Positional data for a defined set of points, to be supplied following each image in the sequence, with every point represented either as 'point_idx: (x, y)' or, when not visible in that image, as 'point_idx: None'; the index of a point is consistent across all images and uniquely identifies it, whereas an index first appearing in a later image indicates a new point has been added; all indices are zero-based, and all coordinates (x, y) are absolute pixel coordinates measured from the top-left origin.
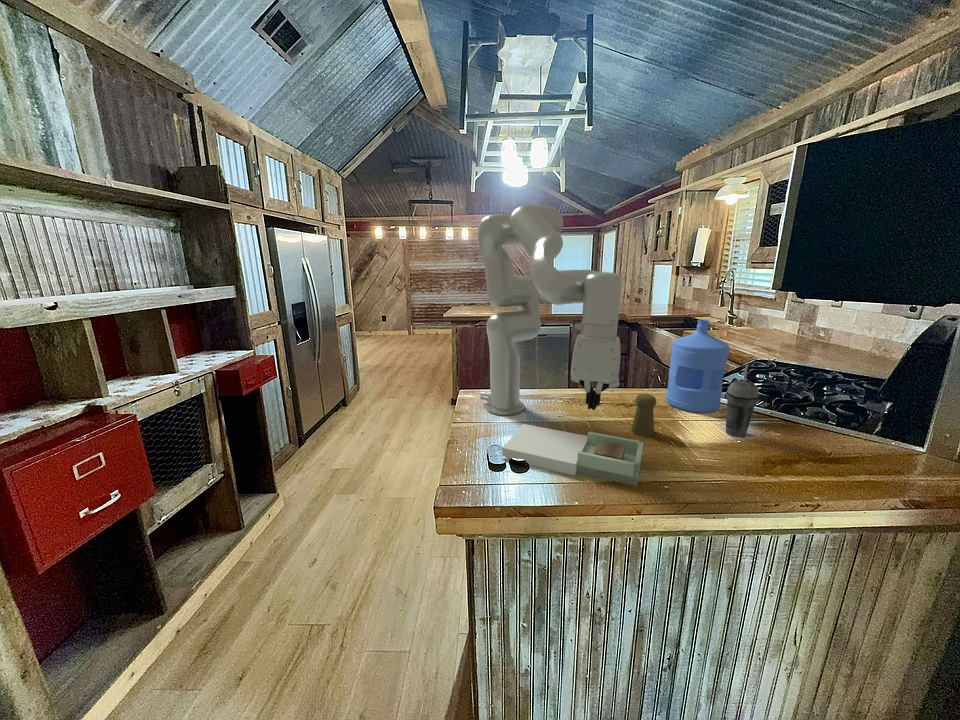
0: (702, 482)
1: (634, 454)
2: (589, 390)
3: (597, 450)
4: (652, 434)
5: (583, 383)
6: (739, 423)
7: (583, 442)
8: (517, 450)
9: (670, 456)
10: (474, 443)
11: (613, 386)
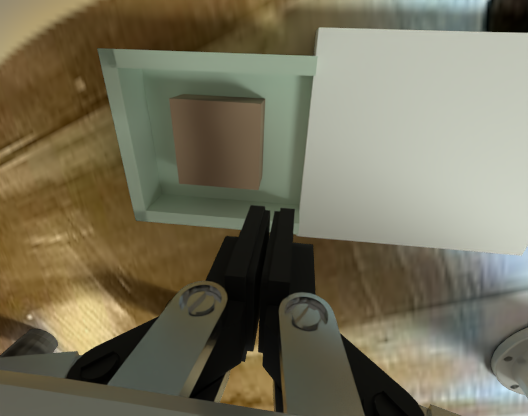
0: (23, 140)
1: (168, 188)
2: (286, 312)
3: (252, 124)
4: (166, 305)
5: (364, 395)
6: (8, 355)
7: (308, 193)
8: None
9: (112, 230)
10: None
11: (32, 365)
